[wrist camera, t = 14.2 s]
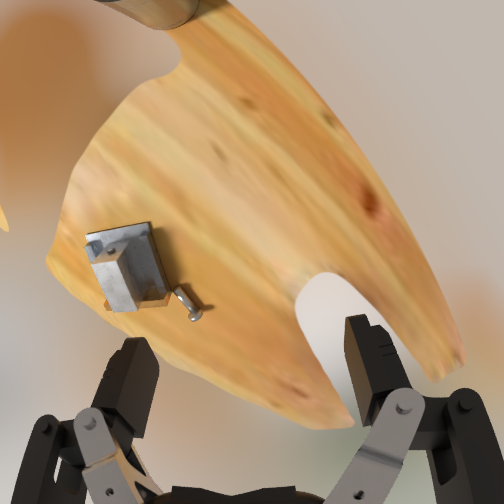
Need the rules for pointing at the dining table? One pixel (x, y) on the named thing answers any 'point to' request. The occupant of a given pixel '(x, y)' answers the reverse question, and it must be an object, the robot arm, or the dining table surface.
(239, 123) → the dining table surface
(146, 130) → the dining table surface
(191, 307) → the hitch pin
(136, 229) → the grey channel bracket
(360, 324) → the robot arm
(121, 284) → the grey metal block
